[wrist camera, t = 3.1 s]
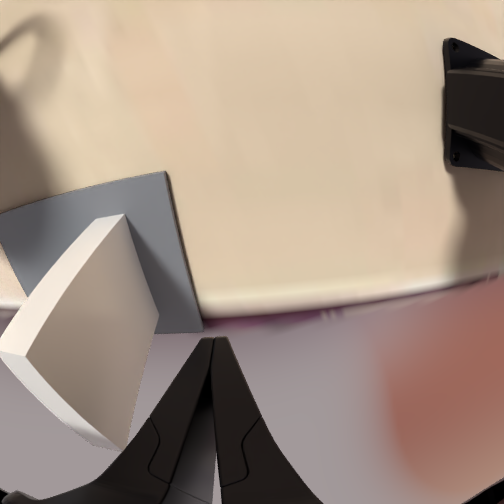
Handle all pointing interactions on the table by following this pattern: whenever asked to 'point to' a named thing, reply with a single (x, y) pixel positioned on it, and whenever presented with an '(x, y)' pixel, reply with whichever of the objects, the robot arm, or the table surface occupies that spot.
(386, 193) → the table surface
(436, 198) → the table surface
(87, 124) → the table surface
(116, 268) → the tile
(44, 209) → the mat
